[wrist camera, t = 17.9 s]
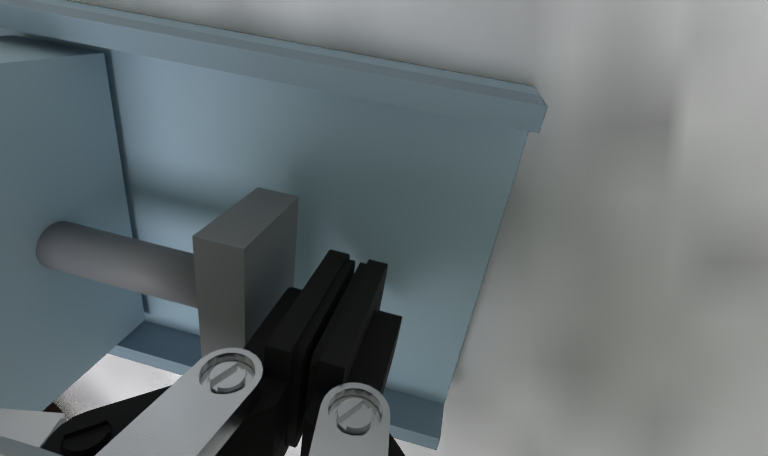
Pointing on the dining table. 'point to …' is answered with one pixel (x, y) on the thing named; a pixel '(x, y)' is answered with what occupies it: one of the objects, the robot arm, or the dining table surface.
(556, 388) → the dining table surface
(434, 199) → the vise
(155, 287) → the sliding jaw
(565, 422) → the dining table surface
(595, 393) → the dining table surface
